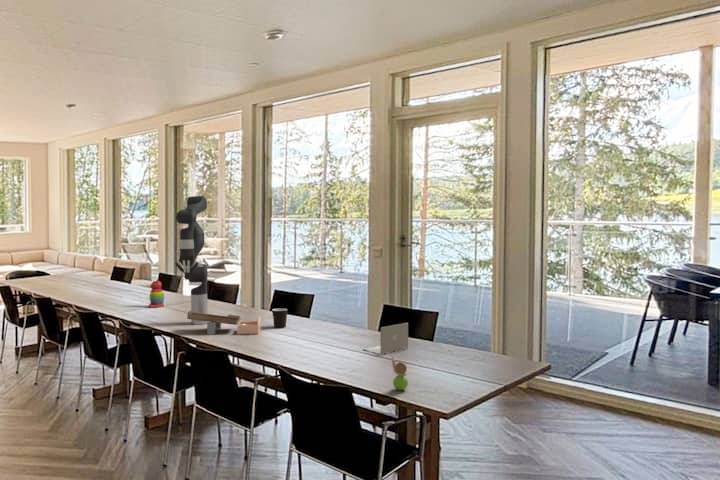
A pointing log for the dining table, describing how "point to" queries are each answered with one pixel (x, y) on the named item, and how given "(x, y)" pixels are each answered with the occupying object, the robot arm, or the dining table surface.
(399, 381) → the snail figurine
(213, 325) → the lever stand
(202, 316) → the lever
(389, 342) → the laptop
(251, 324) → the cup
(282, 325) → the coffee mug
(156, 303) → the stacking bear
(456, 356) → the dining table surface
